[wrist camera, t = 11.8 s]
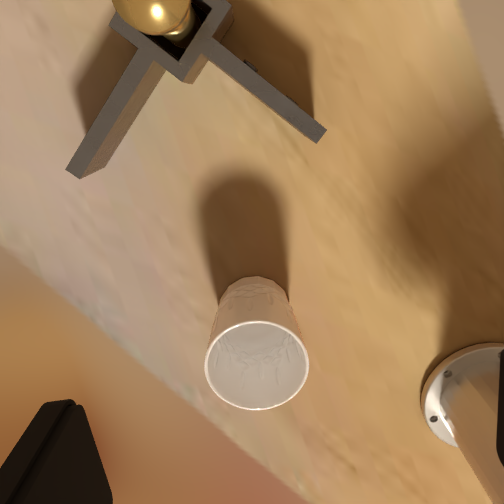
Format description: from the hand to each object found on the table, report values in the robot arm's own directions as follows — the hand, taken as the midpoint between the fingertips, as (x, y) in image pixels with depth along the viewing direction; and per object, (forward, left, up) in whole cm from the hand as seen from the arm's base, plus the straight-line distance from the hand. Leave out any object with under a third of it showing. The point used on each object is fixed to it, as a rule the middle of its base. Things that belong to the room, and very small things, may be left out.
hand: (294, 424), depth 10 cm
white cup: (-7, +10, -31) cm, 33 cm away
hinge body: (+7, -1, -30) cm, 31 cm away
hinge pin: (+12, -6, -30) cm, 33 cm away
